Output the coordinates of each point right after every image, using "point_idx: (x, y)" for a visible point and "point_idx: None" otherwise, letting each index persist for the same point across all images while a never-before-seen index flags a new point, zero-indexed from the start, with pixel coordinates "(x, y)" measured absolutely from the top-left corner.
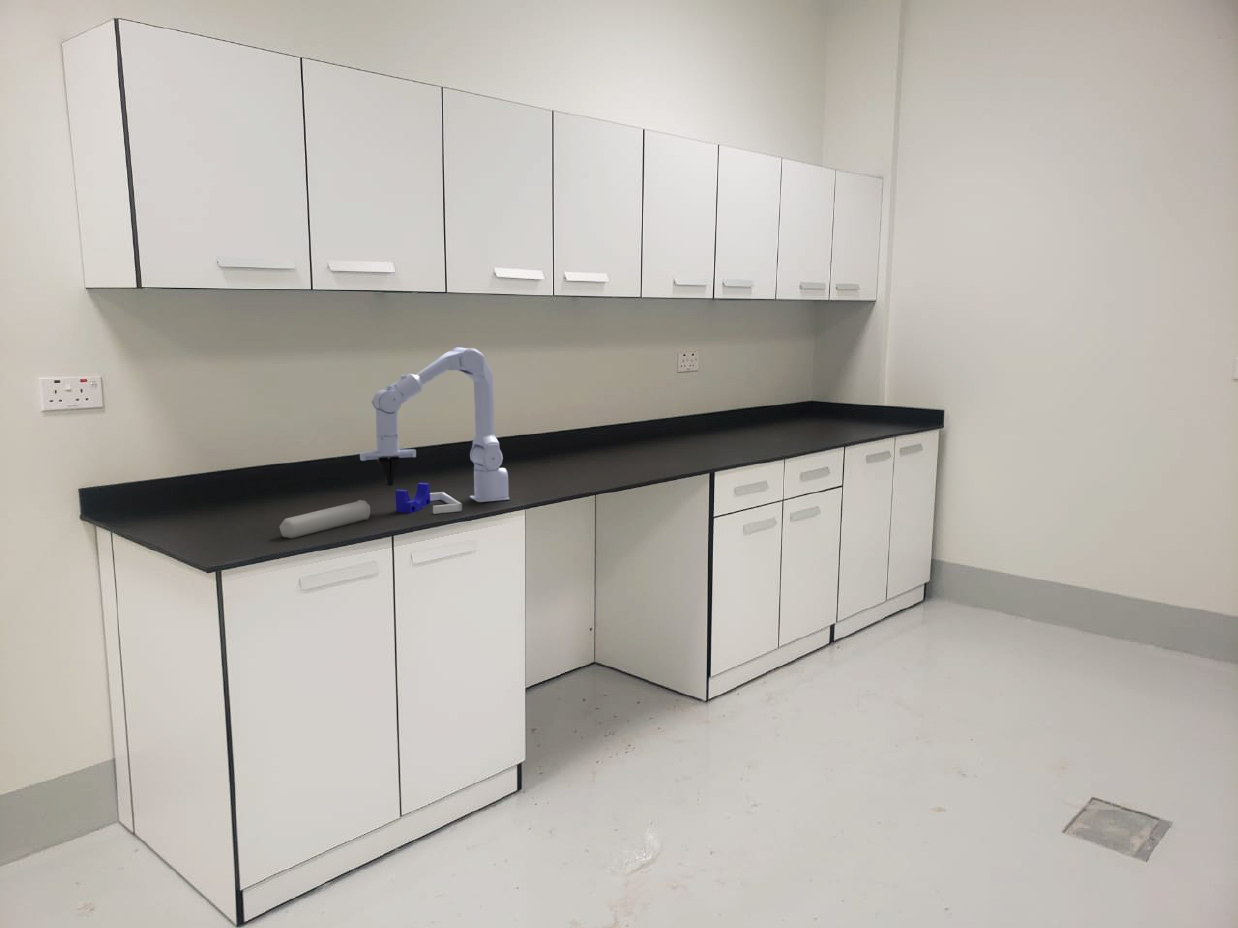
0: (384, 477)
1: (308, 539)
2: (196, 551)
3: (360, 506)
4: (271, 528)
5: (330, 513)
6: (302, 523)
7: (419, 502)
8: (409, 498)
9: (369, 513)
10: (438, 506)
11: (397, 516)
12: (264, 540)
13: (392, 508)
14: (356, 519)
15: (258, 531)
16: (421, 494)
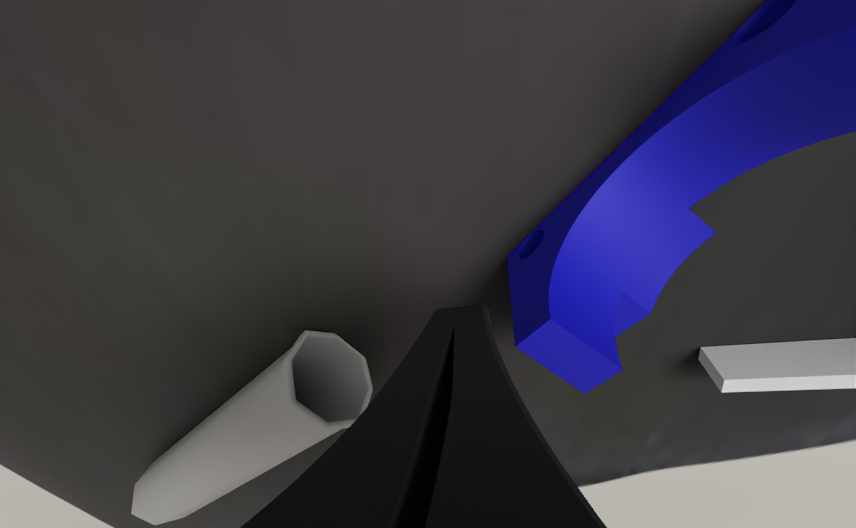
0: (406, 357)
1: (245, 491)
2: (56, 485)
3: (320, 436)
4: (74, 375)
5: (234, 484)
6: (193, 511)
7: (710, 190)
8: (613, 312)
9: (369, 395)
10: (753, 388)
11: (499, 352)
12: (141, 466)
13: (494, 159)
14: (326, 399)
15: (61, 393)
16: (818, 105)
